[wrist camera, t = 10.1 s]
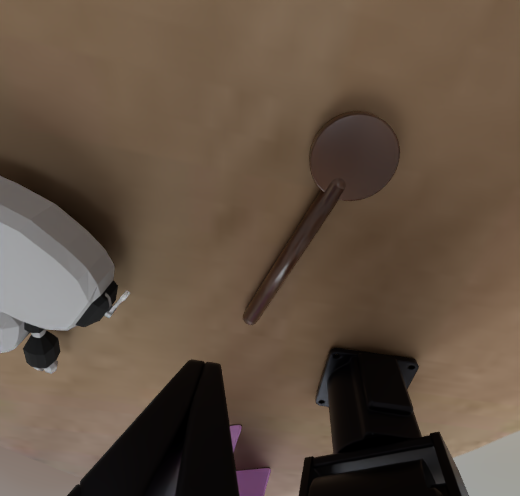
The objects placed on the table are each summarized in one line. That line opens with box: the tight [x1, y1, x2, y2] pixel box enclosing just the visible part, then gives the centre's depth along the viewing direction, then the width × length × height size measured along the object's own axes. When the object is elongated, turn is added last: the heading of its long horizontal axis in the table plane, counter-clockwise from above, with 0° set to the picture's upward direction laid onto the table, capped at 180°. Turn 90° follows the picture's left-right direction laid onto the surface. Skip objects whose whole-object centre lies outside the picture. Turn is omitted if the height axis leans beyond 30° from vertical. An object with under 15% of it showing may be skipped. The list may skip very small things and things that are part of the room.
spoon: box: [243, 111, 400, 325], centre depth 19 cm, size 15×4×1 cm, turn 154°
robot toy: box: [0, 176, 130, 373], centre depth 21 cm, size 12×4×15 cm
